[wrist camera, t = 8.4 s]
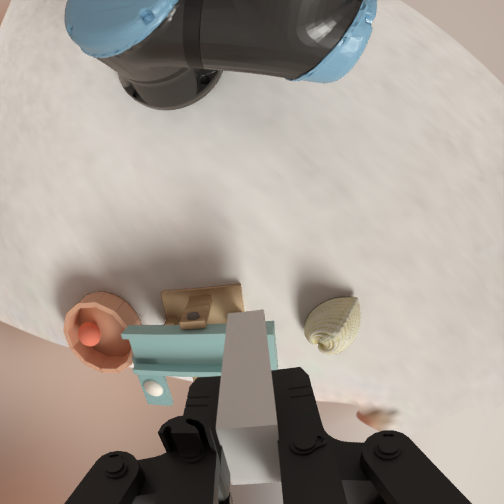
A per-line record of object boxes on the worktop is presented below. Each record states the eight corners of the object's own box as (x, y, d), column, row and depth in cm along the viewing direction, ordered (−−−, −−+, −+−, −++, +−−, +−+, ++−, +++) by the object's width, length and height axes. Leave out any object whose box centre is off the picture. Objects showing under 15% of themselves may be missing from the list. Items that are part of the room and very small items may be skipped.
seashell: (288, 337, 47) (316, 310, 42) (313, 307, 53) (340, 280, 48) (326, 372, 45) (359, 350, 40) (346, 339, 52) (377, 315, 46)
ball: (94, 315, 48) (73, 322, 46) (98, 324, 45) (76, 331, 43) (101, 336, 49) (80, 343, 47) (105, 346, 46) (83, 353, 44)
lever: (125, 325, 42) (115, 336, 38) (274, 320, 39) (273, 334, 36) (150, 400, 45) (143, 413, 42) (281, 402, 43) (280, 418, 40)
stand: (161, 291, 47) (144, 318, 38) (240, 283, 47) (239, 310, 38) (176, 352, 50) (164, 386, 41) (249, 347, 50) (249, 382, 41)
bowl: (67, 294, 47) (54, 304, 43) (132, 288, 47) (122, 300, 43) (88, 357, 50) (79, 371, 46) (151, 357, 50) (144, 372, 46)
